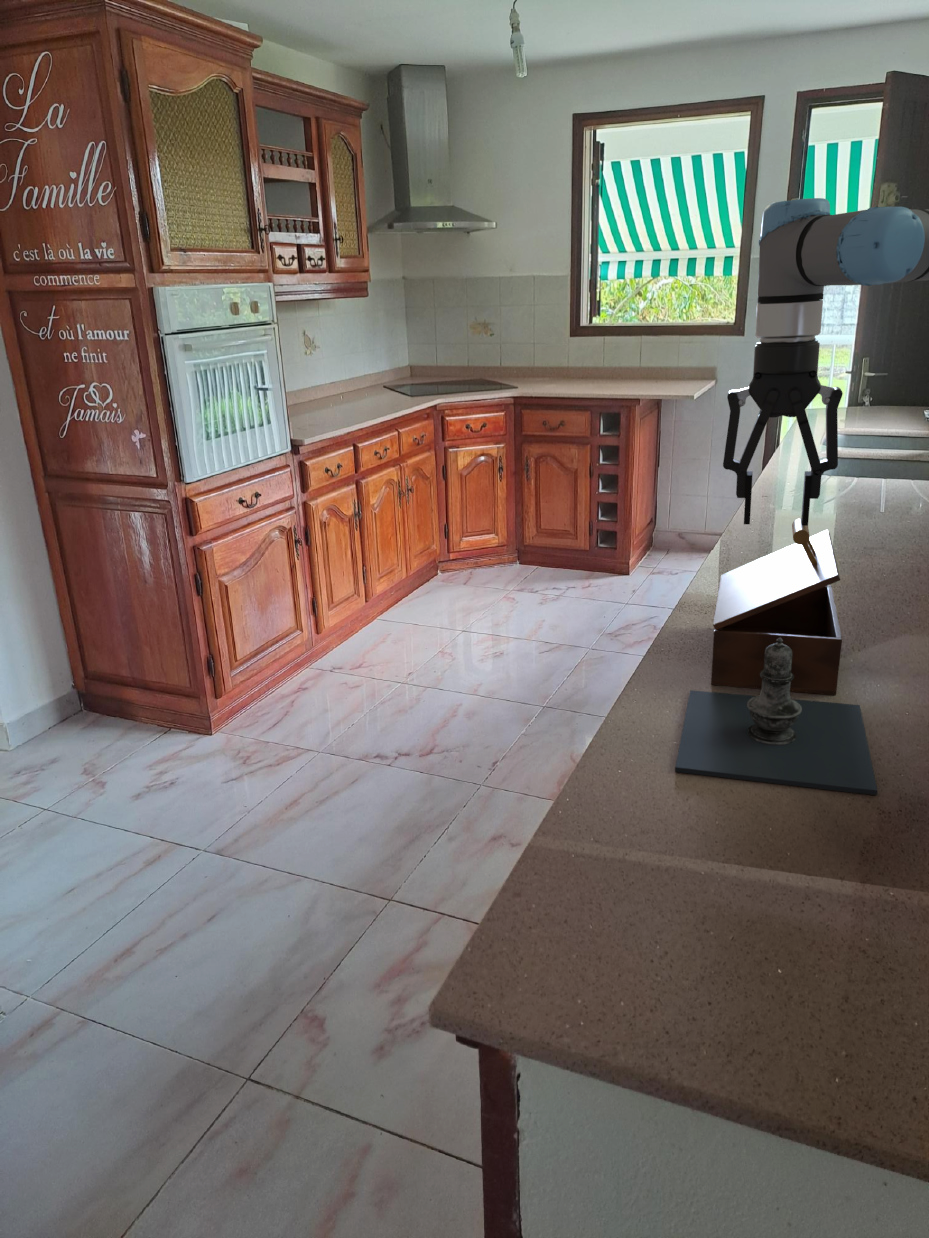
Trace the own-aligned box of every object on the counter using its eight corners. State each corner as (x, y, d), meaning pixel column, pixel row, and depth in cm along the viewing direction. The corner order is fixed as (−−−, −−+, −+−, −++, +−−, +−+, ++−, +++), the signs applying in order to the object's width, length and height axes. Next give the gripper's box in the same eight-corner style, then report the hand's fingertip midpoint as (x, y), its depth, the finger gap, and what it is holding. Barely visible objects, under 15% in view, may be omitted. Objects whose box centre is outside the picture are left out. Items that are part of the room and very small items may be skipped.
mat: (859, 709, 107) (859, 704, 107) (876, 795, 89) (877, 790, 89) (689, 694, 113) (690, 689, 113) (675, 772, 95) (675, 767, 95)
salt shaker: (749, 718, 105) (756, 624, 100) (802, 727, 102) (811, 630, 98) (740, 741, 100) (747, 643, 95) (795, 750, 97) (805, 650, 93)
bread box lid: (830, 534, 124) (812, 498, 123) (840, 580, 105) (820, 538, 105) (723, 579, 131) (706, 545, 130) (715, 630, 112) (695, 591, 111)
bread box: (826, 634, 129) (831, 585, 127) (835, 695, 111) (842, 639, 108) (719, 627, 134) (722, 580, 131) (710, 684, 115) (713, 630, 113)
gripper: (870, 333, 108) (853, 516, 116) (707, 340, 114) (701, 514, 122) (877, 337, 101) (858, 531, 109) (703, 345, 107) (697, 528, 115)
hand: (775, 522), depth 116 cm, fingers open, 6 cm apart
